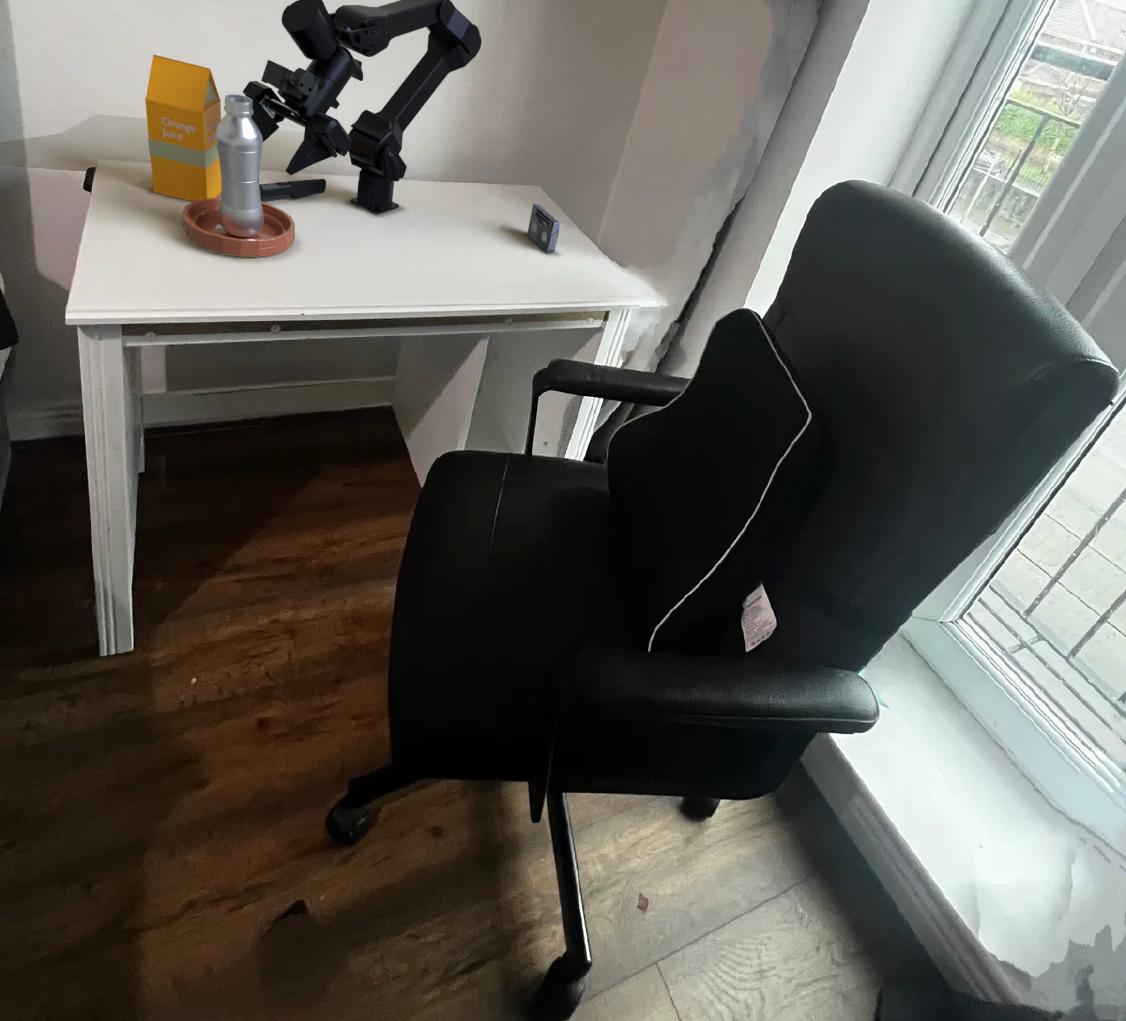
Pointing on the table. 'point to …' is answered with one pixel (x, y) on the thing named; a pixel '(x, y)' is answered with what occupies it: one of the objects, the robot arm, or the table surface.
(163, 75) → the orange juice
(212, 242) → the bowl
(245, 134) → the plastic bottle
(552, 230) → the mini dv tape
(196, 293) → the table surface
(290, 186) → the electric trimmer
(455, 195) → the table surface
